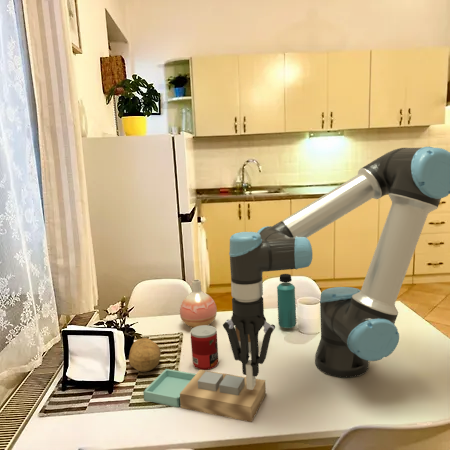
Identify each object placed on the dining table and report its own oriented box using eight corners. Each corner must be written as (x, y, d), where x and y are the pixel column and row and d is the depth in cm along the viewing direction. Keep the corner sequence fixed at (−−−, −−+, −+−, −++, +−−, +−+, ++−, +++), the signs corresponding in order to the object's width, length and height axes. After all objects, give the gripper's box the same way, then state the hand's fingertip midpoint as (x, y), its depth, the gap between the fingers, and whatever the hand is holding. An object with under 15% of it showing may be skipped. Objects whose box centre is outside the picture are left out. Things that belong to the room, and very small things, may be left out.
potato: (157, 353, 135) (155, 330, 134) (166, 374, 122) (164, 349, 121) (126, 360, 132) (124, 336, 130) (132, 382, 119) (129, 356, 117)
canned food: (215, 371, 122) (213, 336, 120) (189, 369, 124) (187, 335, 122) (221, 358, 130) (219, 325, 128) (196, 357, 131) (194, 324, 129)
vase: (180, 320, 161) (177, 276, 158) (215, 316, 162) (213, 273, 159) (181, 335, 148) (177, 288, 144) (219, 331, 149) (216, 284, 146)
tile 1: (223, 381, 110) (222, 374, 109) (215, 391, 105) (215, 384, 105) (206, 378, 112) (205, 371, 111) (198, 388, 107) (197, 381, 107)
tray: (199, 382, 117) (198, 374, 116) (179, 407, 106) (178, 398, 106) (166, 376, 121) (165, 368, 120) (144, 400, 110) (143, 391, 109)
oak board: (265, 394, 110) (265, 380, 109) (251, 422, 99) (251, 407, 98) (200, 382, 117) (199, 369, 116) (180, 407, 106) (179, 393, 105)
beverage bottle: (298, 332, 145) (296, 277, 142) (279, 332, 145) (277, 278, 142) (295, 324, 152) (293, 271, 148) (277, 325, 152) (275, 272, 148)
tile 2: (244, 384, 107) (244, 377, 107) (238, 395, 103) (237, 388, 102) (226, 381, 109) (226, 374, 109) (219, 392, 105) (219, 384, 104)
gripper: (277, 293, 101) (280, 382, 105) (227, 289, 105) (232, 374, 110) (269, 304, 94) (272, 399, 98) (216, 299, 99) (221, 390, 103)
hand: (251, 386), depth 104 cm, fingers closed
